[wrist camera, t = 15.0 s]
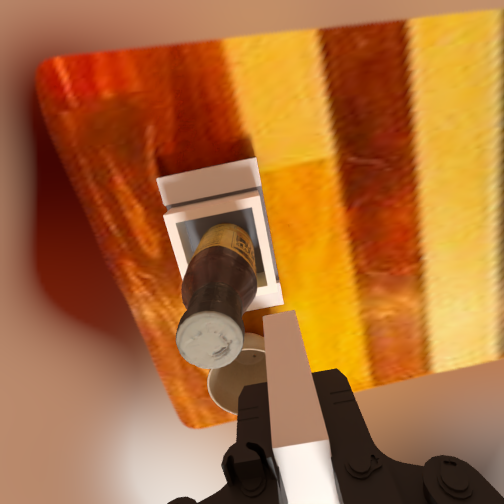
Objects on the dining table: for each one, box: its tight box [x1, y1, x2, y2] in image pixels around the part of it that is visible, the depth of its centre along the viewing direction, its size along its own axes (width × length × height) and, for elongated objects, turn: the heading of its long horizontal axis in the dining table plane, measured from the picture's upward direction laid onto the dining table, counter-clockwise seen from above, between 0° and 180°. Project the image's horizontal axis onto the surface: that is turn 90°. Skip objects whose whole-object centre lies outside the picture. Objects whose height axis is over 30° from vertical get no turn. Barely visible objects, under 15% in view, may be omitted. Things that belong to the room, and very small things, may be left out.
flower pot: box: [207, 333, 267, 415], centre depth 40 cm, size 10×10×7 cm
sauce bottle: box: [176, 223, 257, 369], centre depth 27 cm, size 6×6×20 cm
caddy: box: [156, 157, 284, 312], centre depth 36 cm, size 11×18×6 cm, turn 11°
